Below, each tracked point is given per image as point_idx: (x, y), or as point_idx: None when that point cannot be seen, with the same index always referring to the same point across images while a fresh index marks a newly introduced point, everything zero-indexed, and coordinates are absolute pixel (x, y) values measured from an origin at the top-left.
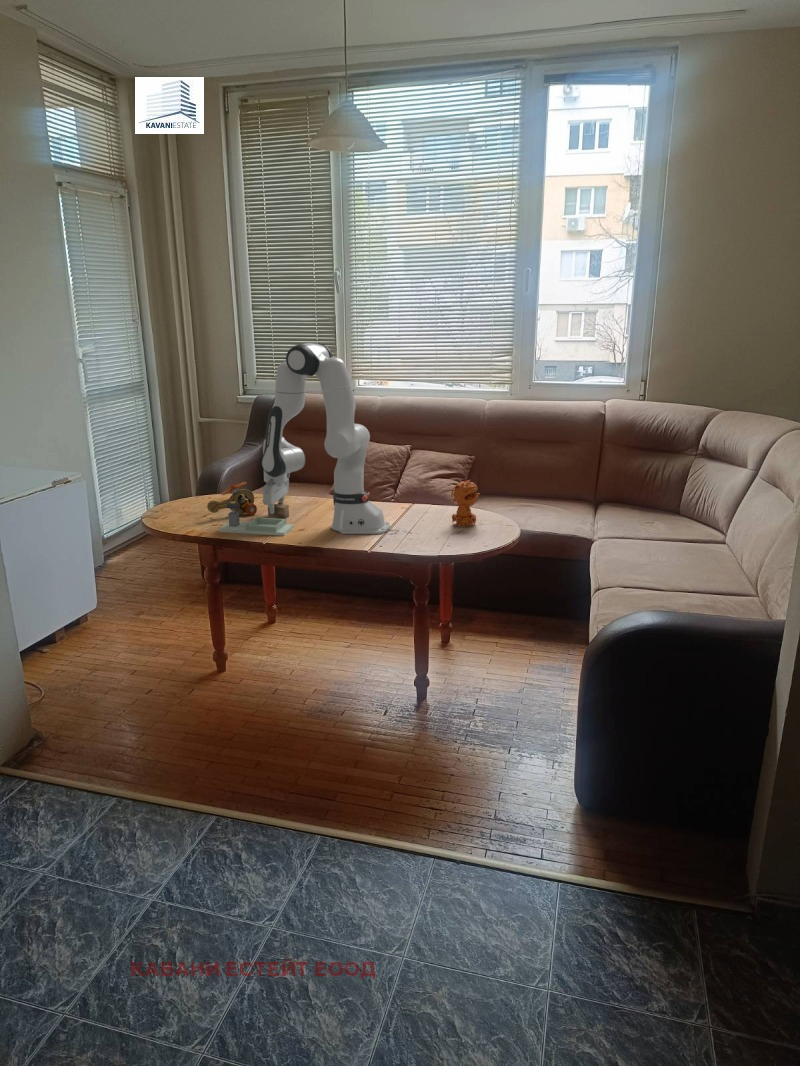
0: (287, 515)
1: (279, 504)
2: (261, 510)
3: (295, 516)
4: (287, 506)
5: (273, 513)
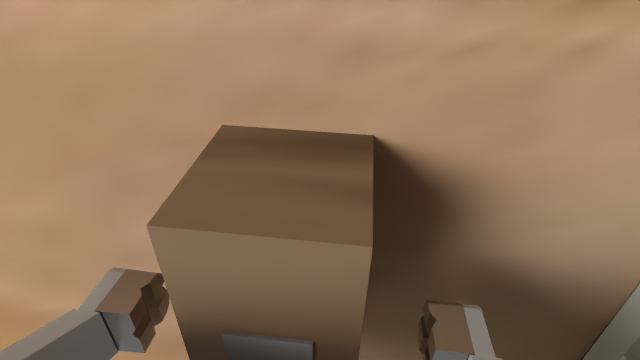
0: (270, 142)
1: (187, 332)
2: (137, 354)
3: (196, 40)
4: (210, 219)
5: (478, 306)
